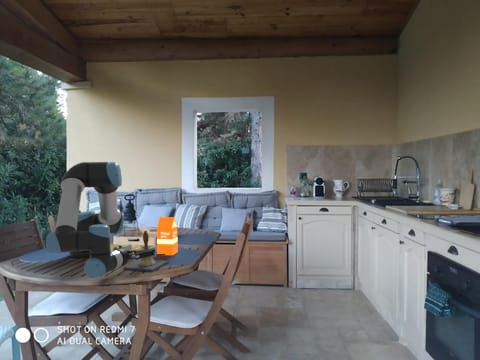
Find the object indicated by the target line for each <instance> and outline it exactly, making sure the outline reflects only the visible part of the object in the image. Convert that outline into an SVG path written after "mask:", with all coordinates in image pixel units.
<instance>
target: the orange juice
mask: <svg viewBox="0 0 480 360" xmlns="http://www.w3.org/2000/svg"><path fill="white" fill-rule="evenodd" d="M178 241H179V240H178V224H177V222H176V218H175V217H174V216H172V217H171V216H160V217H159V219H158V222H157V228H156V244H157V251H156V252H157V254H165V255H164V256H174V255H175V254H177V253H178V250H179V249H178V246H179V245H178Z"/></svg>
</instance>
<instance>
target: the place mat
mask: <svg viewBox="0 0 480 360" xmlns="http://www.w3.org/2000/svg"><path fill="white" fill-rule="evenodd" d="M140 260H141V258H140V259H138V260H136V261H134V262H132V263H130V264H128V265H127V264H126V266H125V265H124V267H123V270H127V271H128V270H131V271H142V272H152V273H153V272H154V271H157V270H158V269H159V268H162V267H164V266H165V265H167V264H168V263H169V260H161V259H153V260H154V261H155V262H156V263H155V264H154V265H151V266H139V265H138V263H139V262H140ZM166 263H167V264H166ZM164 264H165V265H164ZM163 265H164V266H163ZM161 266H162V267H161Z"/></svg>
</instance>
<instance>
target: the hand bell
mask: <svg viewBox="0 0 480 360" xmlns="http://www.w3.org/2000/svg"><path fill="white" fill-rule="evenodd" d="M149 239H150V238H149V233H148V231H147V230H144V231H143V234H142V240H143V243H144V247H143V248H144V249H143V250H146V249H148V248H149V245H148V244H149ZM140 259H141V260H140ZM140 259H139V260H140V262H139V263H138V265H139V266H151V265H154V264H155V263H156V262H155V261H154V260H155V259H153V256H149V257H145V258H140Z"/></svg>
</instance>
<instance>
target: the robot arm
mask: <svg viewBox="0 0 480 360" xmlns="http://www.w3.org/2000/svg"><path fill="white" fill-rule="evenodd" d="M121 170H122V169H121V166H120V164H119V163H118V162H116V161H115V162H114V161H82V162H79V163H76V164H74V165H73V166H72V167H70V168H69V169H68V170H67V171H66V172H65V173H64V174H63V177H62V178H61V182H60V189H61V195H60V202H59V206H58V207H59V208H58V212H57V217H56V218H57V219H56V223H55V229H54V232H49V233H48V234H47V235H46V239H45V245H46V246H45V247H46V251H47V252H48V253H50V254H52V253H53V254H54V253H55V254H57V253H59V254H61V253H68V257H70V258H74V259H80V258H83V259H84V258H89V259H87V260H86V261H85V263H84V265H83V270H84V274H86V275H87V277H89V278H93V279H95V278H98V277H102V276H104V275H106V274H108V273H109V272H114V271H115V270H117V269H118V268H121V267H123V266H125V265H127V263H128V262H129V261H130V260H132V259H133V260H136V261H138V260H140V259H141V258H145V257H149V256H152V257H154V256H155V253H156V252H157V245H153V246H151V247H148V249H146V250H145V249H141V250H136V249H132V247H133V246H132V243H129V244H125V245H124V246H122V245H118V247H117V246H115V247H114V248H113V249H112V250H111V235H116V234H121V233H122V232H123V231H124V223H125V222H124V221H125V217H124V216H125V214H124V212H122V211H120V209H118V200H117V199H118V198H117V196H118V195H117V190H118V189H119V187H121V186H122V184H123V180H122V171H121ZM85 188H93V189H94V190H95V192H97V197H98V198H97V199H98V204H99V212H98V213H96V212H95V210H87V211H81V212H80V207H81V206H80V205H81V197H82V193H83V192H84V191H85Z"/></svg>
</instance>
